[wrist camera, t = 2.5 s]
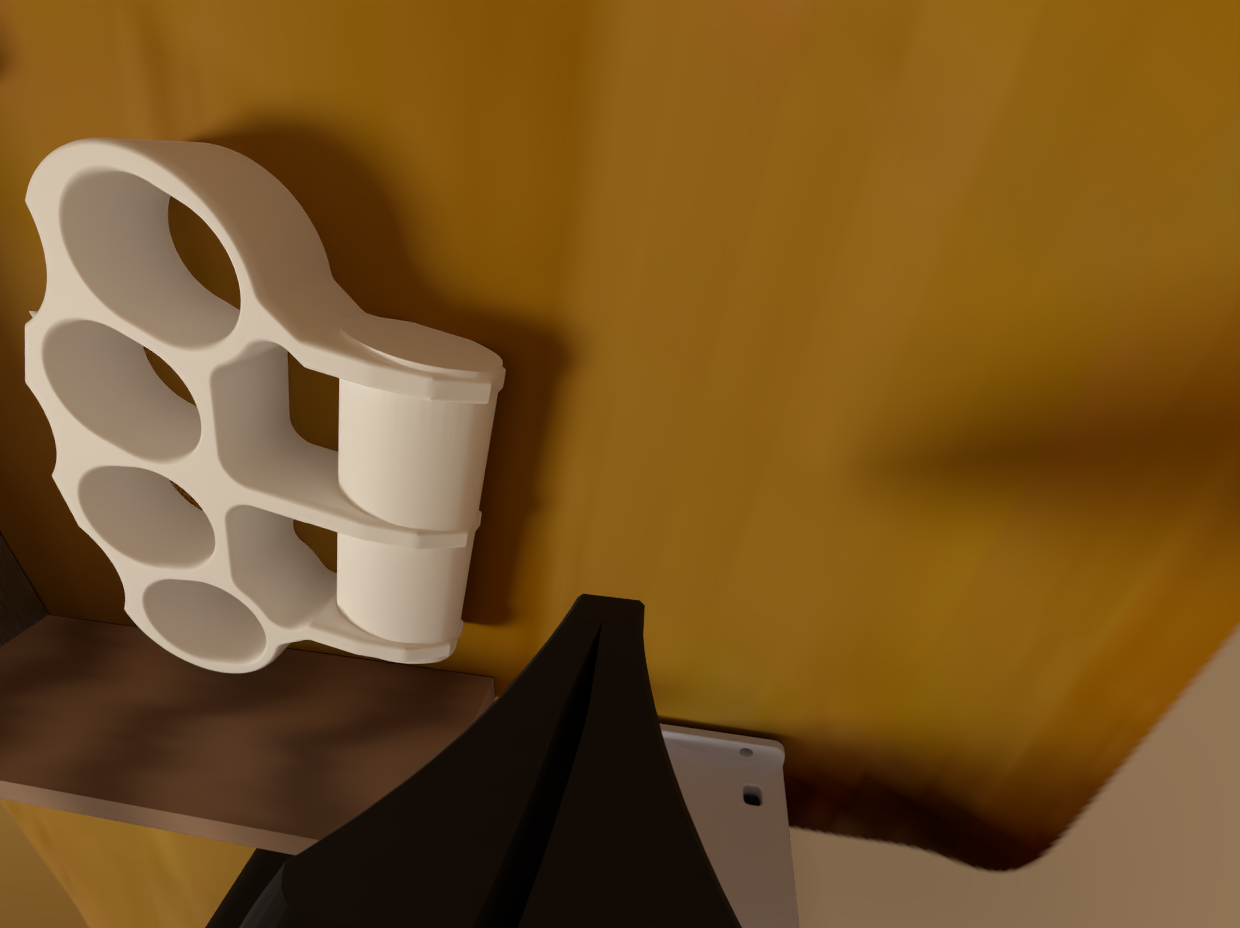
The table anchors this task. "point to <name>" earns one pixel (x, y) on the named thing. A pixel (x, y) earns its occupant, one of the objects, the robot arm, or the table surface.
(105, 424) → the white multi-hole holder
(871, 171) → the table surface
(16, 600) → the bookend
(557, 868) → the robot arm
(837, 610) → the table surface
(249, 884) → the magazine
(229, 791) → the shelf wall
